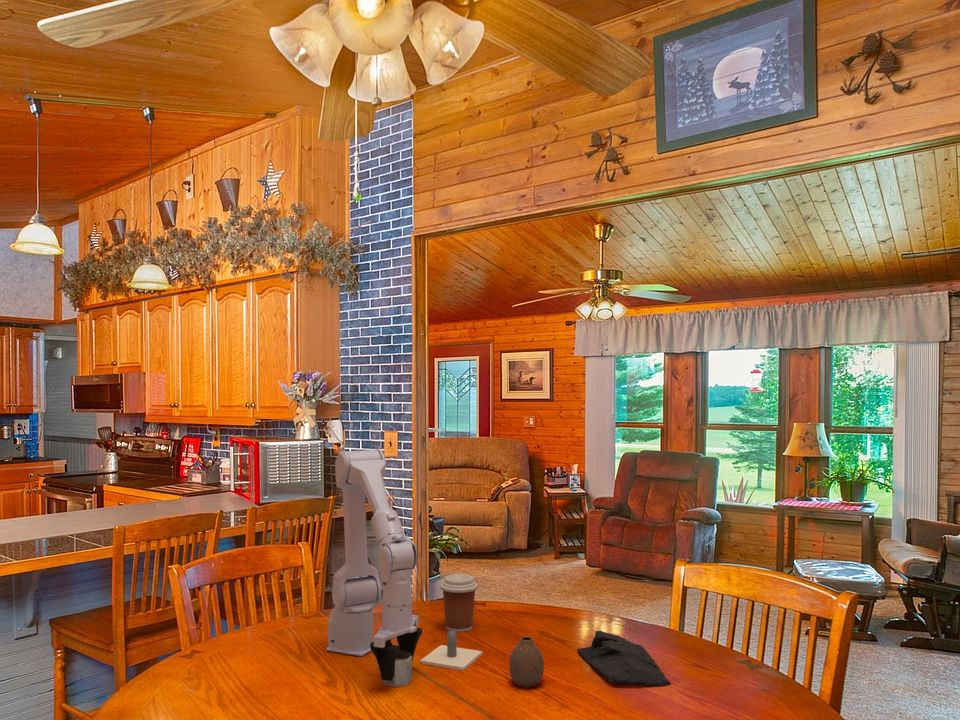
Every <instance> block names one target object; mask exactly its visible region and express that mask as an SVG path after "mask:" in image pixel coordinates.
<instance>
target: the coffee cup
mask: <svg viewBox="0 0 960 720" xmlns="http://www.w3.org/2000/svg"><path fill="white" fill-rule="evenodd" d="M474 579H475V578H474V576H472V575H470V574H466V573H452V574H449V575H446V576H445V577H444V580H443V582H441V583H440V586H439V587H440V588H439V589H440V590H442V593H443V594H442V595H443V607H444V621H445V622H444V623H445V630H447V631H456V632H457V633H463V632H469V631H471V630H472V629H473V621H474V607H475V596H476V591H477V590H478V587H479V584H478V582H476V581H475V580H474Z"/></svg>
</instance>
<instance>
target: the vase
mask: <svg viewBox="0 0 960 720" xmlns="http://www.w3.org/2000/svg"><path fill="white" fill-rule="evenodd" d="M509 655H510V656H509V660H508V670H509V674H510V677H511V679H512V681H513V682H514V683H515V684H516V685H517V687H518V686H519V687H521V686H522V688H533V687H532V686H534V687H535V685H536V686H537V685H538V684H539V683H540V682H541V680H542V678H543V675H544V672H545V661H544V656H543V653H542V652H541V650H540V649H539V647H538V645H536V643H535V641H534V639H533V637H532V636H525V635H524V636H521V637H520V639H519V641H518V643H517V644H516V645H515V646H514V648H513V649H512V650H511V653H510V654H509Z"/></svg>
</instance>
